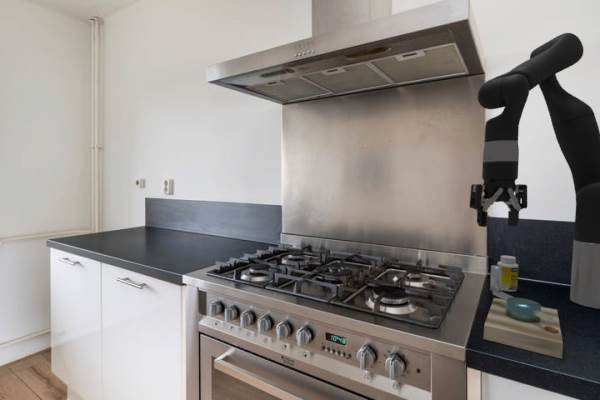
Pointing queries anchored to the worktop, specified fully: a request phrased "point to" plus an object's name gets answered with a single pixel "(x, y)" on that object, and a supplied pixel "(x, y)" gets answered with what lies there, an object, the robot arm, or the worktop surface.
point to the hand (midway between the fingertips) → (497, 226)
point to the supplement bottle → (509, 273)
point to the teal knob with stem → (516, 301)
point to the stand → (524, 330)
